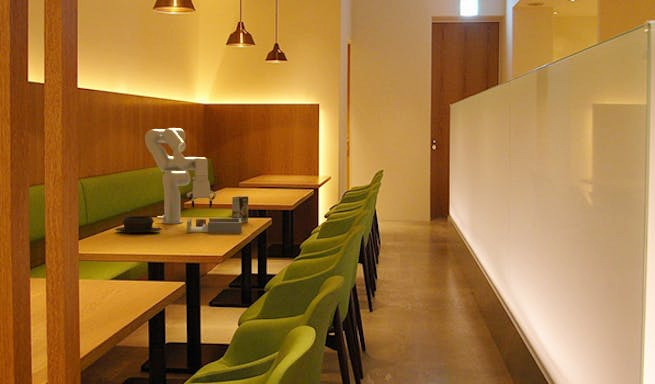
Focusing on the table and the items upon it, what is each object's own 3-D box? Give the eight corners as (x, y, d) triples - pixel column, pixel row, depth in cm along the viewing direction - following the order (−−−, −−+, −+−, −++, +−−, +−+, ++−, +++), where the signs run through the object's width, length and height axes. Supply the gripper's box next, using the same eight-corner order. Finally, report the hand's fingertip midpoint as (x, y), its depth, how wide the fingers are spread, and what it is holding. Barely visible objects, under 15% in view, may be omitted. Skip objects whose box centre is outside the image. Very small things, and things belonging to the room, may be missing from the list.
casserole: (165, 231, 413) (165, 216, 412) (155, 235, 395) (154, 220, 394) (122, 229, 415) (122, 215, 415) (109, 234, 397) (109, 219, 396)
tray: (186, 232, 404) (186, 221, 404) (189, 227, 424) (189, 217, 424) (222, 232, 407) (222, 221, 406) (223, 227, 427) (223, 217, 426)
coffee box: (240, 223, 448) (240, 197, 447) (231, 223, 451) (231, 196, 449) (248, 222, 456) (248, 196, 455) (239, 221, 459) (239, 195, 458)
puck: (195, 227, 430) (195, 219, 429) (196, 226, 435) (196, 218, 435) (206, 227, 430) (206, 219, 430) (206, 226, 436) (206, 218, 436)
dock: (207, 233, 406) (207, 222, 405) (209, 228, 425) (209, 218, 425) (241, 233, 408) (241, 222, 408) (241, 228, 428) (241, 218, 427)
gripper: (185, 179, 426) (186, 208, 427) (216, 178, 428) (216, 208, 429) (186, 178, 433) (187, 207, 434) (216, 178, 435) (217, 206, 436)
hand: (201, 207), depth 431 cm, fingers open, 9 cm apart
